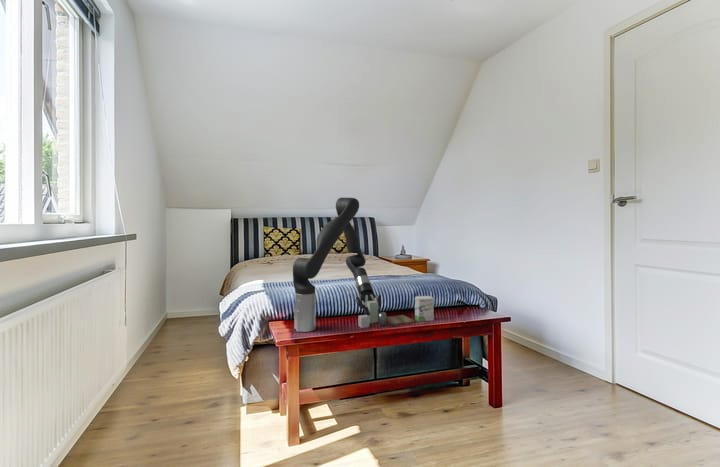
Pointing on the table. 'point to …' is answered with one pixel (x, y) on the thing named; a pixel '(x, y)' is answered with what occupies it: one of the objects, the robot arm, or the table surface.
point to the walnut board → (399, 320)
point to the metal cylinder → (382, 319)
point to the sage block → (373, 311)
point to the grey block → (363, 321)
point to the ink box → (424, 308)
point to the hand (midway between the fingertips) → (373, 314)
